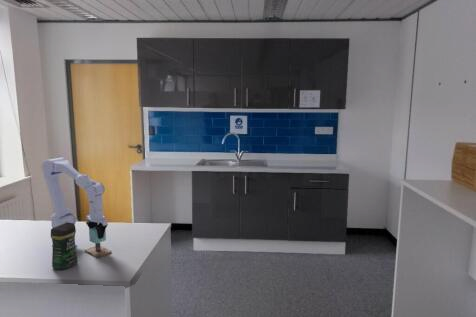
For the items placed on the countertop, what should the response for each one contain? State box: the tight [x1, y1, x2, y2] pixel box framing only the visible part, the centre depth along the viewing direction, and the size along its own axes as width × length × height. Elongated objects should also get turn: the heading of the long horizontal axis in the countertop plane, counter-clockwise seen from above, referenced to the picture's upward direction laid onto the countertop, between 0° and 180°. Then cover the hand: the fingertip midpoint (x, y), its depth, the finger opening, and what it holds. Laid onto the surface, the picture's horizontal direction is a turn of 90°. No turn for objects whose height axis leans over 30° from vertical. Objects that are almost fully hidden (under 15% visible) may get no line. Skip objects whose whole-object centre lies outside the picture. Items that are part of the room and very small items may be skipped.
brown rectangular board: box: [84, 242, 112, 259], centre depth 155 cm, size 11×7×5 cm, turn 54°
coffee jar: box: [50, 222, 78, 271], centre depth 141 cm, size 10×8×19 cm
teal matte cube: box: [88, 227, 107, 244], centre depth 154 cm, size 5×5×6 cm
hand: (97, 236), depth 154 cm, fingers closed on teal matte cube, 5 cm apart
